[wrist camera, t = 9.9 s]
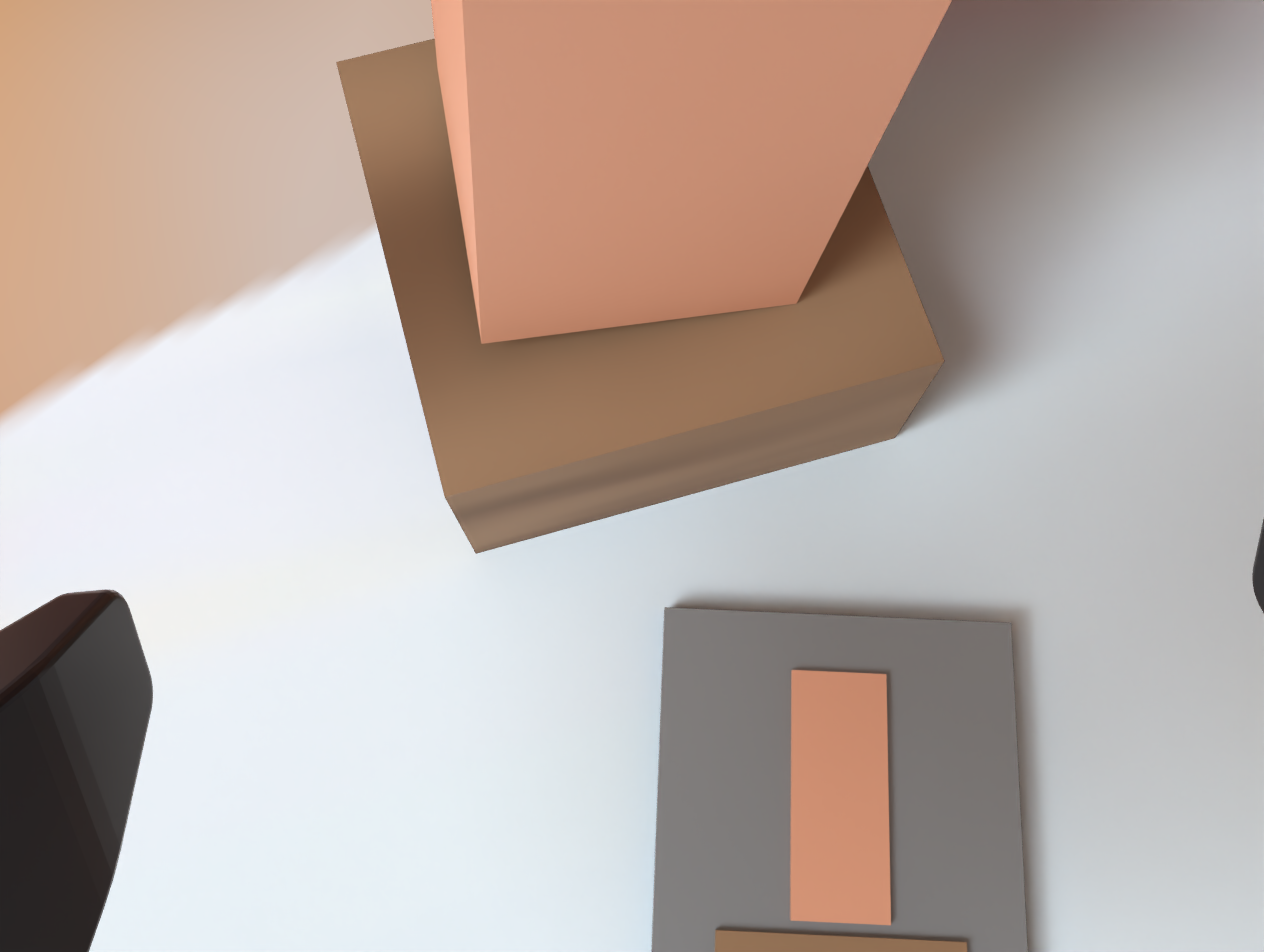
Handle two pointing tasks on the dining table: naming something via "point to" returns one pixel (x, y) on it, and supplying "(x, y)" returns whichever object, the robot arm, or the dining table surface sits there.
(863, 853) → the card
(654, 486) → the walnut block
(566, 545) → the dining table surface
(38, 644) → the robot arm
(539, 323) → the terracotta block
